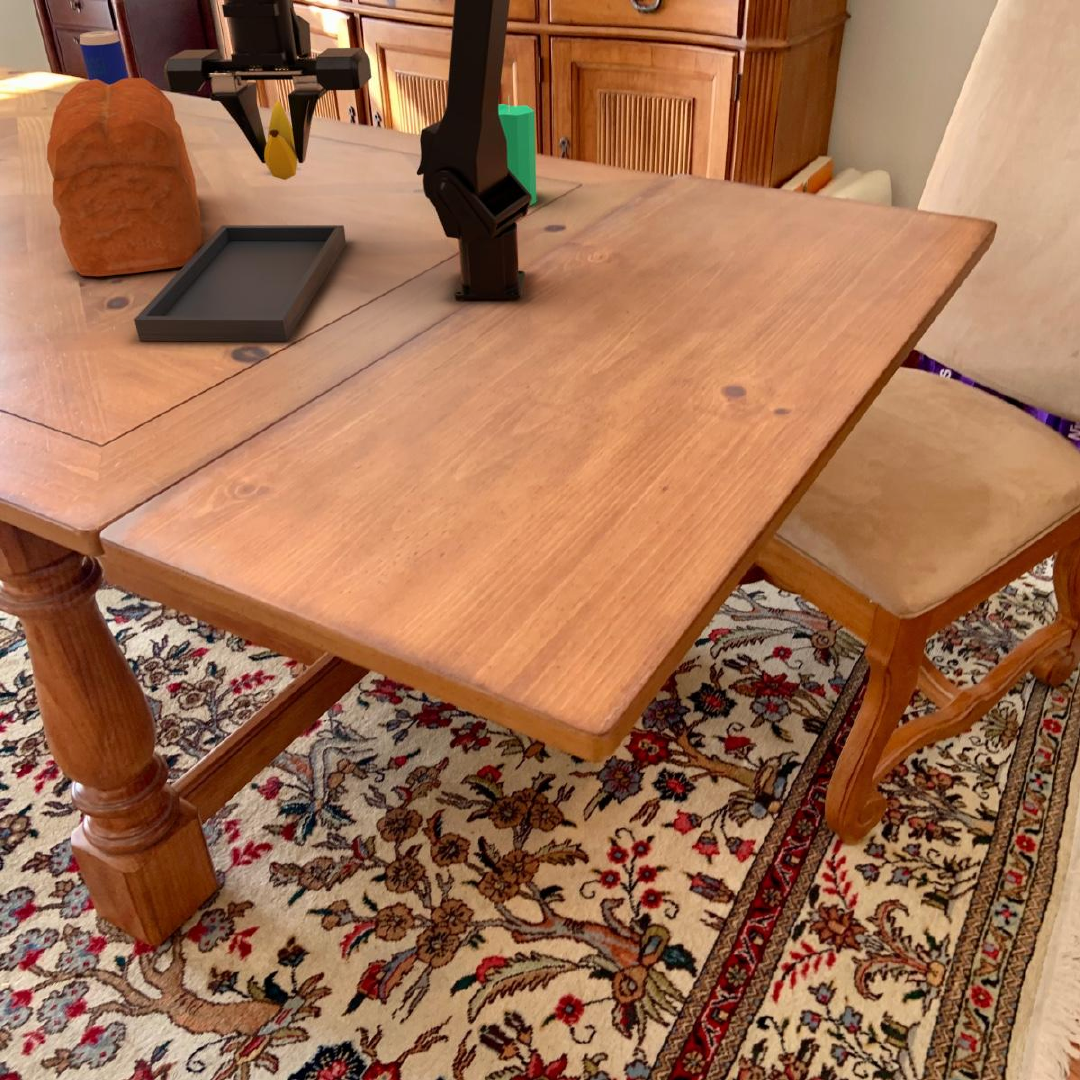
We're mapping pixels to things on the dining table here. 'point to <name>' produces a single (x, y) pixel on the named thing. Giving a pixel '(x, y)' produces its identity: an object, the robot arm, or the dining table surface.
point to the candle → (520, 143)
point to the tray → (244, 285)
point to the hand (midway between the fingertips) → (284, 162)
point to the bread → (122, 180)
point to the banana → (280, 145)
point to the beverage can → (103, 56)
